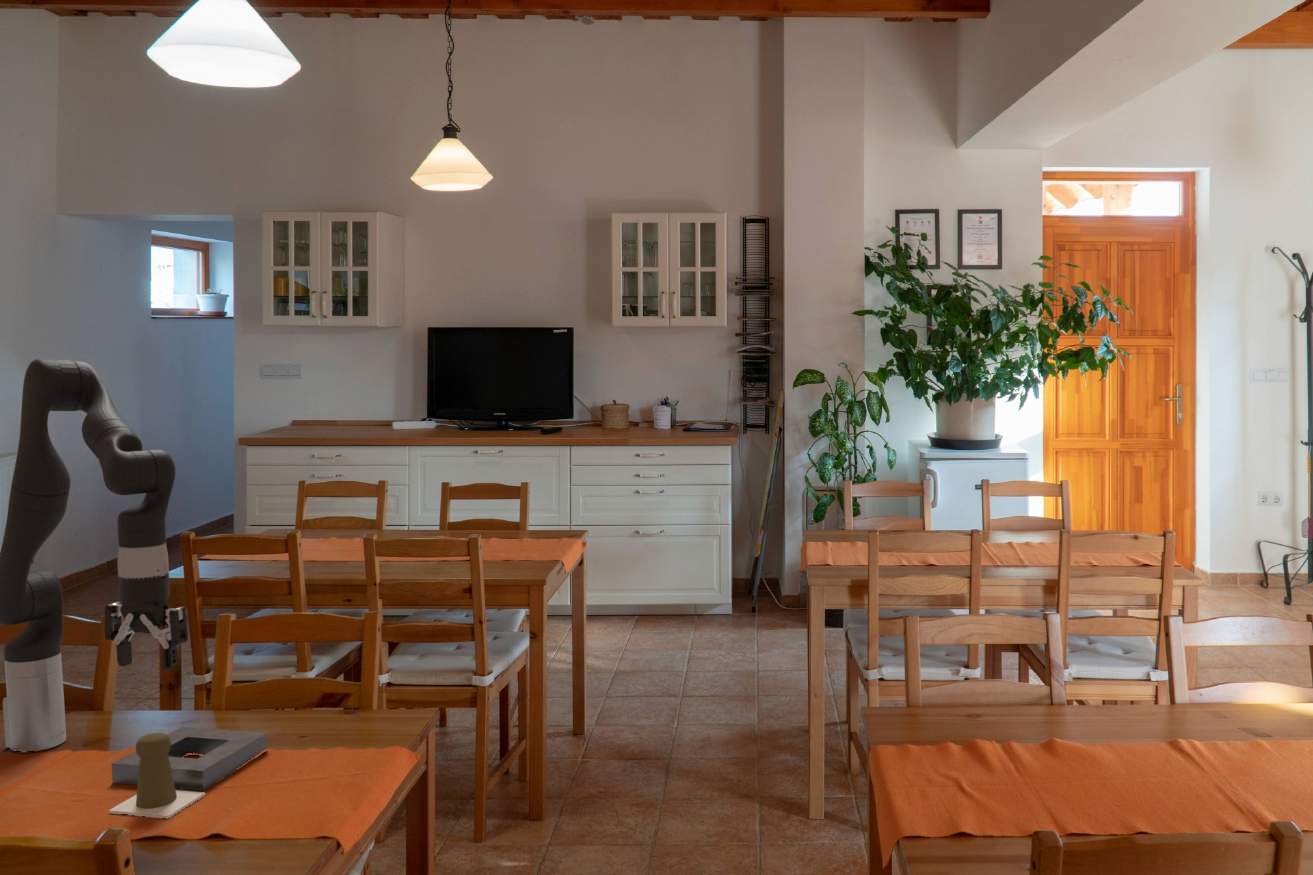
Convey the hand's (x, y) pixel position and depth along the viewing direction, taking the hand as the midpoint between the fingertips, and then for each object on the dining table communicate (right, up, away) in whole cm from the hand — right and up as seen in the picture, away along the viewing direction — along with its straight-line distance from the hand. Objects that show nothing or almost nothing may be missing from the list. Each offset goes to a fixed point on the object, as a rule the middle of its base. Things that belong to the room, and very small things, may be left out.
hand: (147, 667), depth 171 cm
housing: (+2, -21, +13) cm, 24 cm away
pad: (+3, -22, -3) cm, 22 cm away
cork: (+3, -21, -3) cm, 22 cm away
